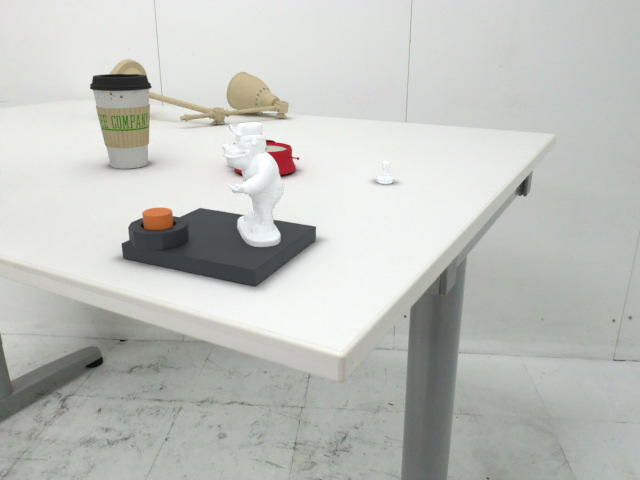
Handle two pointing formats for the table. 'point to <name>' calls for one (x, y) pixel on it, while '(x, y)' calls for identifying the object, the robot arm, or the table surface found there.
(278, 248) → the scale
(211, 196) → the table surface
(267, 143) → the alarm clock
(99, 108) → the coffee cup
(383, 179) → the chess pawn
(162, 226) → the button
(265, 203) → the figurine
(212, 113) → the desk lamp
